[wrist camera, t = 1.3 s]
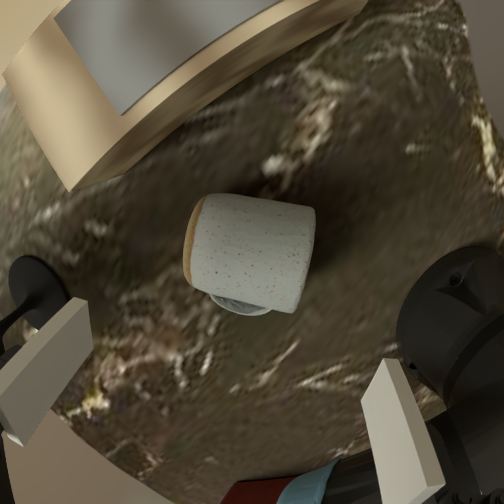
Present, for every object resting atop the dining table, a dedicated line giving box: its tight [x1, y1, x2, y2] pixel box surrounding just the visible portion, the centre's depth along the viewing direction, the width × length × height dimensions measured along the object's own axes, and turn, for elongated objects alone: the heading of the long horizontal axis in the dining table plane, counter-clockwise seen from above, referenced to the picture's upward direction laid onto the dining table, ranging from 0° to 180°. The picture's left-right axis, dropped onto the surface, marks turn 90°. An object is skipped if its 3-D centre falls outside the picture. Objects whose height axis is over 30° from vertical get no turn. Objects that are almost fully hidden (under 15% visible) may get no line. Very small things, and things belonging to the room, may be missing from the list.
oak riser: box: [3, 0, 368, 192], centre depth 16 cm, size 24×12×8 cm, turn 125°
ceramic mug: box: [183, 193, 316, 315], centre depth 23 cm, size 11×8×8 cm
